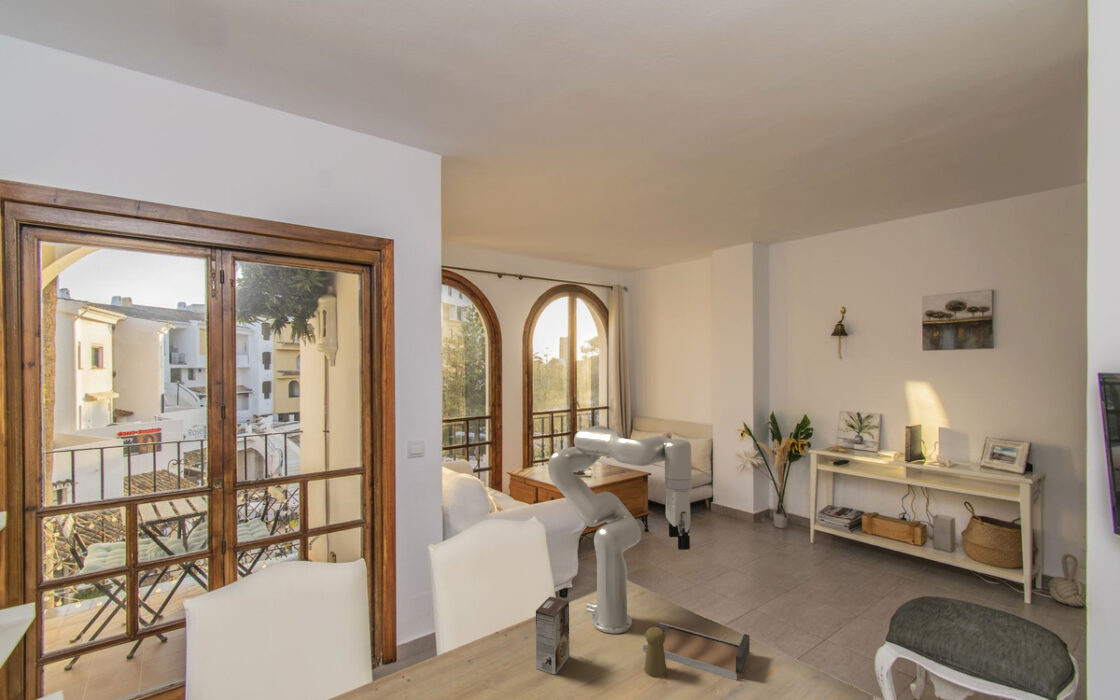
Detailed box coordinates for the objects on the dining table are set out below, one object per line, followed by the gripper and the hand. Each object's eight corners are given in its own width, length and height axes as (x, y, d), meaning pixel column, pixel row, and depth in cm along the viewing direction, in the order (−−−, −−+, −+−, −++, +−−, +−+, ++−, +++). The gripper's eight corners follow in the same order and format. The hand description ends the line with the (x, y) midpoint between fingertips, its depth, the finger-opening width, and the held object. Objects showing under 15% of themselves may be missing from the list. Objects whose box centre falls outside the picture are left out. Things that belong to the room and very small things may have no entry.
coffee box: (550, 651, 146) (549, 595, 146) (570, 657, 143) (570, 600, 143) (534, 669, 138) (534, 610, 138) (555, 675, 135) (555, 615, 135)
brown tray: (654, 651, 146) (654, 632, 146) (667, 631, 156) (667, 613, 156) (741, 678, 134) (741, 657, 134) (749, 654, 144) (749, 635, 144)
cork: (666, 679, 134) (666, 637, 134) (643, 676, 135) (643, 635, 135) (666, 665, 140) (666, 625, 140) (644, 662, 141) (644, 623, 141)
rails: (643, 651, 146) (643, 645, 146) (659, 627, 159) (659, 622, 159) (736, 680, 133) (736, 674, 133) (746, 651, 146) (746, 646, 146)
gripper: (658, 476, 154) (658, 532, 154) (673, 491, 137) (674, 555, 137) (682, 475, 154) (683, 532, 154) (700, 491, 137) (701, 554, 137)
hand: (679, 542), depth 145 cm, fingers open, 9 cm apart
